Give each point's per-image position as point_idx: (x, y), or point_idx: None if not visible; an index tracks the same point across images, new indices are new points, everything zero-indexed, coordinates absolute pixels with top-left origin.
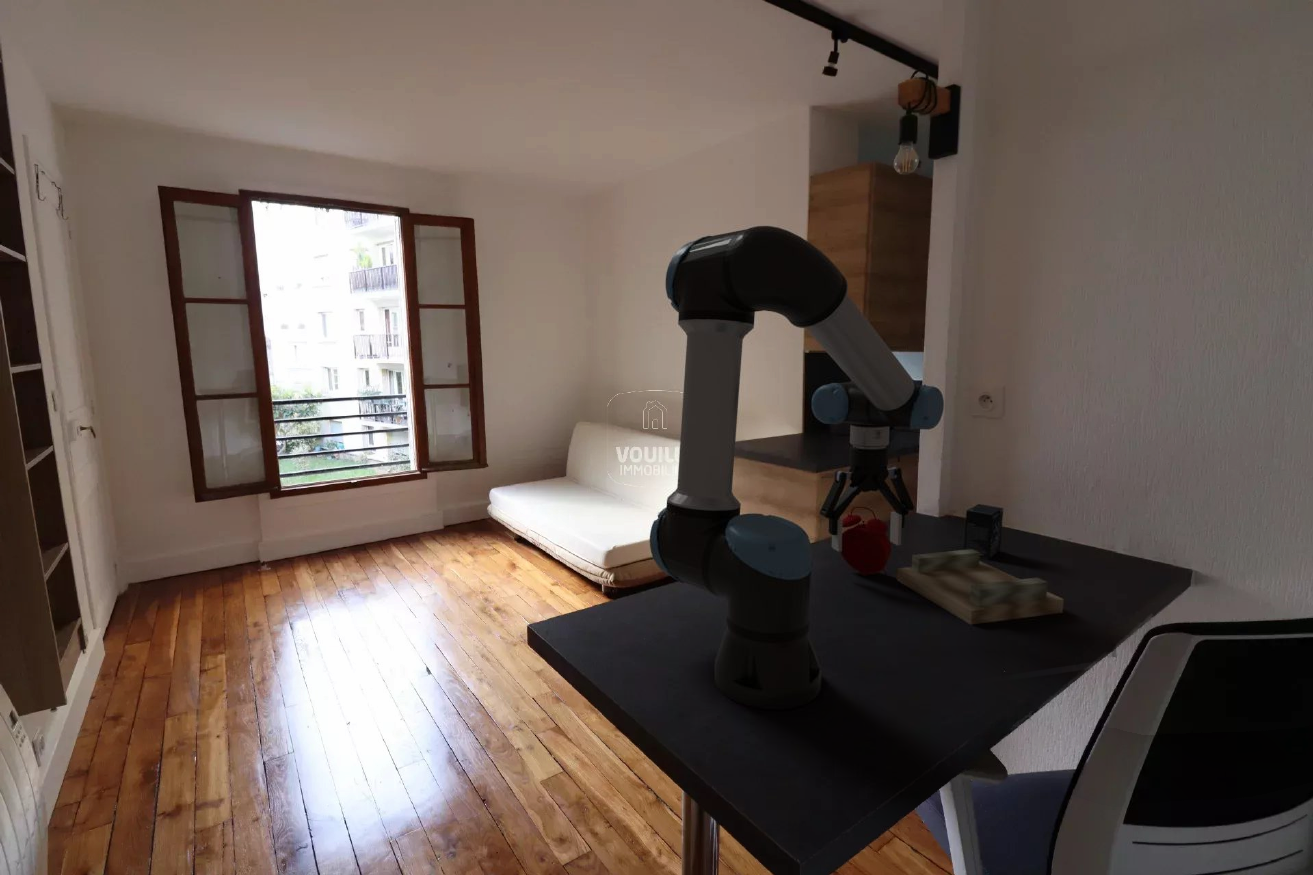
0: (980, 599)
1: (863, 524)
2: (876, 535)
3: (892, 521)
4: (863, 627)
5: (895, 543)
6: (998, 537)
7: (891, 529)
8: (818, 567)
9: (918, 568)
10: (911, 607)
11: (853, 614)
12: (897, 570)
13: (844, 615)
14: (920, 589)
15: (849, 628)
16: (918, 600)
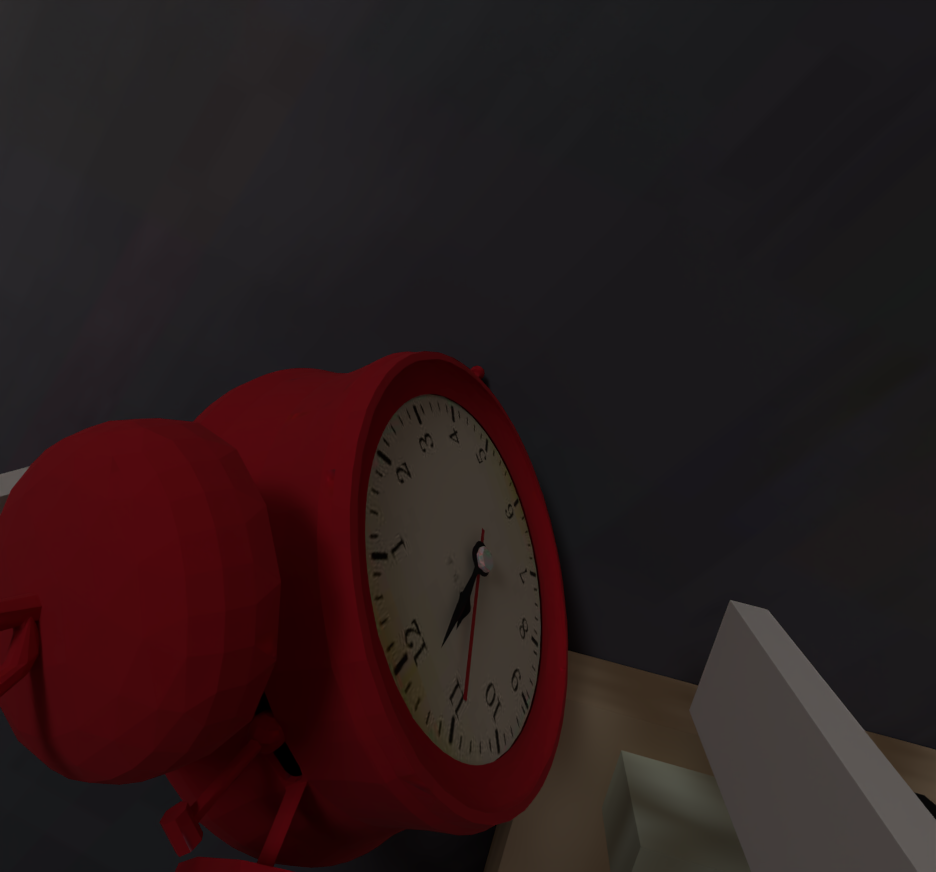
0: None
1: (220, 780)
2: (332, 848)
3: (845, 842)
4: (60, 867)
5: (701, 687)
6: None
7: (783, 716)
8: (270, 253)
9: (607, 832)
10: (348, 867)
11: (87, 785)
12: None
13: (50, 772)
14: (497, 840)
15: (11, 846)
16: (435, 845)
